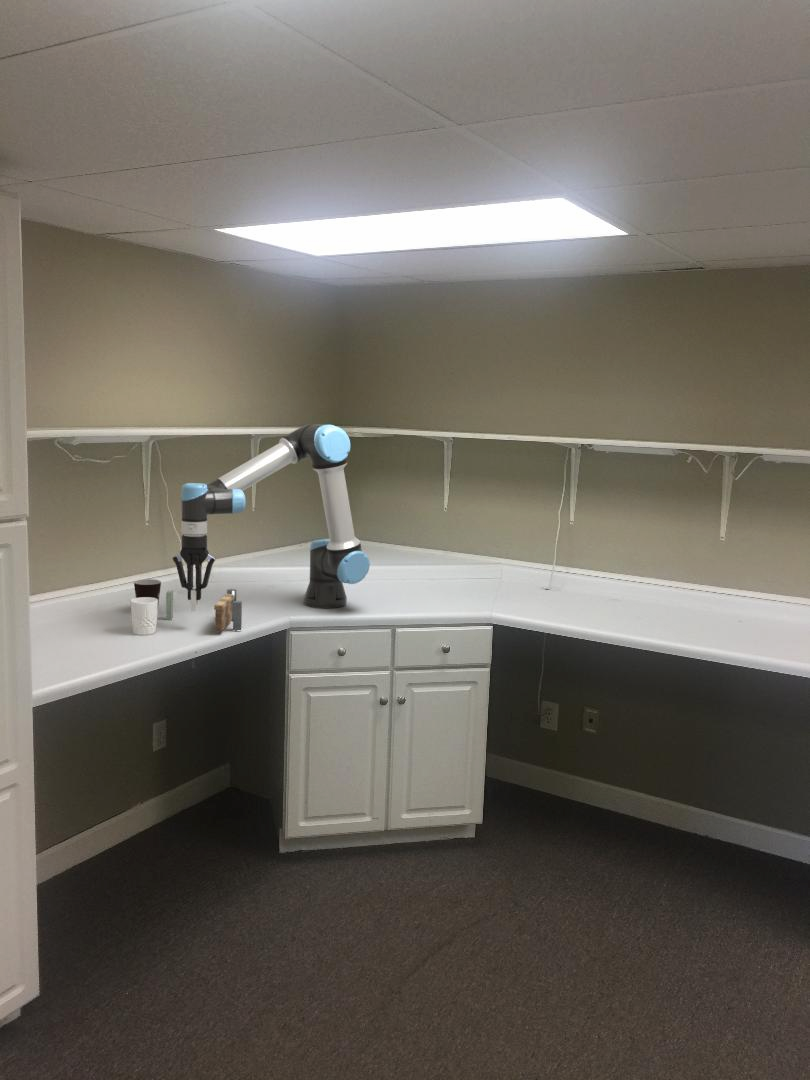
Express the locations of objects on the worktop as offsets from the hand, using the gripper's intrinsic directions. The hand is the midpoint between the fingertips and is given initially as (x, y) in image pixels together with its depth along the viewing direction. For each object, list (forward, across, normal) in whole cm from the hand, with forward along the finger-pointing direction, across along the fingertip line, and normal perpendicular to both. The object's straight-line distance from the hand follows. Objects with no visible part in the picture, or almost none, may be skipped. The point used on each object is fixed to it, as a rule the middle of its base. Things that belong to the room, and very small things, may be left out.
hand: (194, 610), depth 265 cm
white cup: (+6, -14, -6) cm, 16 cm away
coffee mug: (+6, -20, +21) cm, 30 cm away
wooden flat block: (+5, +9, +2) cm, 10 cm away
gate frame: (+6, +1, +6) cm, 9 cm away
